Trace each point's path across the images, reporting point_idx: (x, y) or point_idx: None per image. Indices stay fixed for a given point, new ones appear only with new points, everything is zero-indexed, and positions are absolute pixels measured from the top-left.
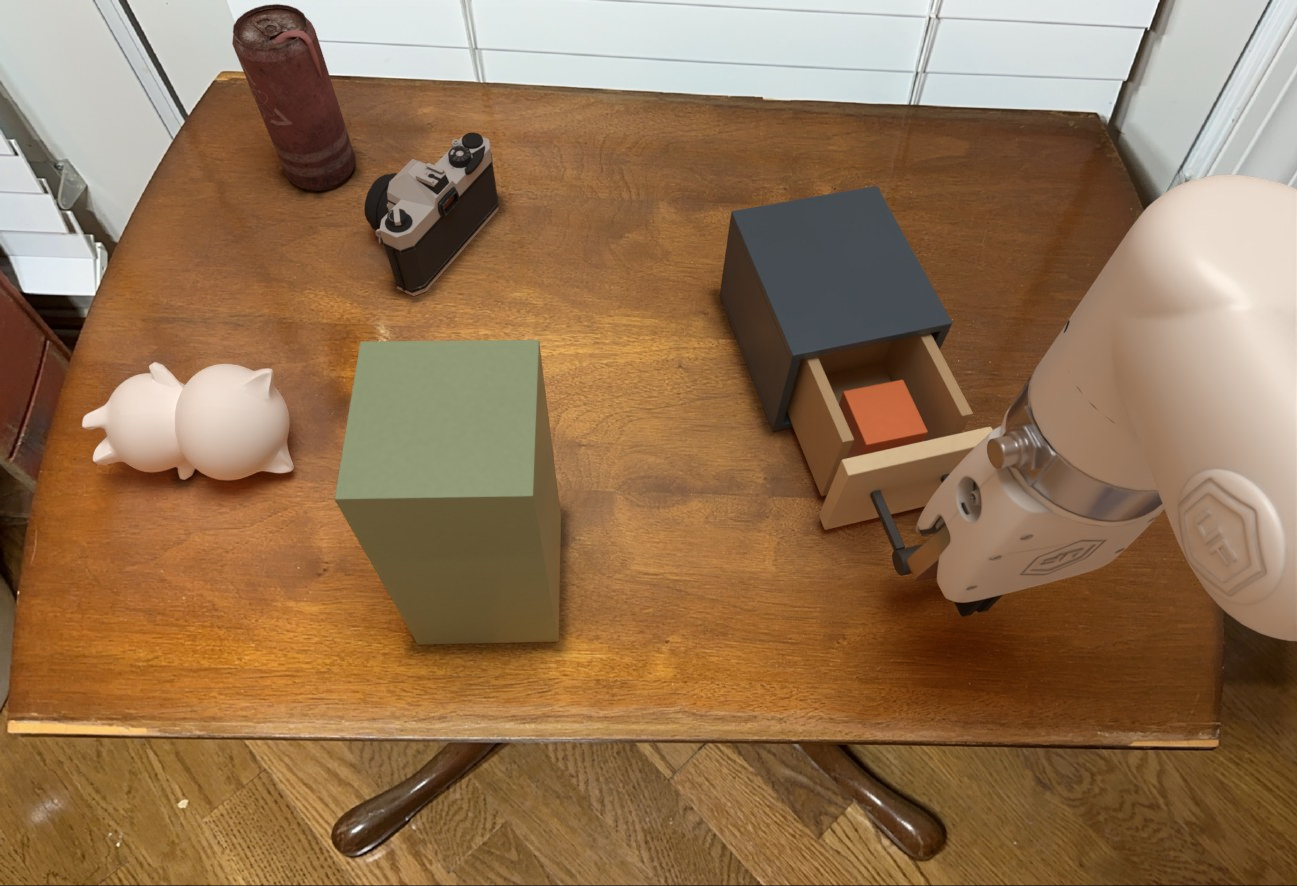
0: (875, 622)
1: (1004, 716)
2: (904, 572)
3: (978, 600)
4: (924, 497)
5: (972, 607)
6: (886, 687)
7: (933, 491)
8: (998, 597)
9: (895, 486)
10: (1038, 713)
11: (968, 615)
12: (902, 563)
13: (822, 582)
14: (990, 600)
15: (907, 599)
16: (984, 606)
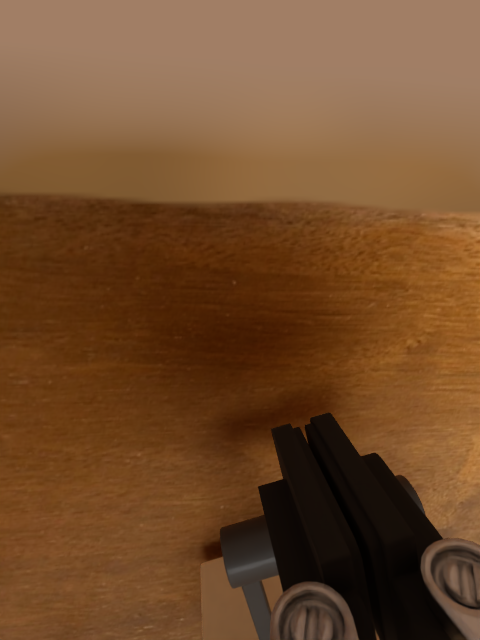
0: (358, 373)
1: (185, 225)
2: (413, 489)
3: (380, 488)
4: (276, 576)
5: (356, 451)
6: (367, 274)
7: (269, 595)
8: (304, 494)
9: (375, 631)
10: (122, 230)
11: (318, 416)
12: (423, 510)
13: (416, 424)
14: (315, 477)
15: (302, 408)
16: (300, 447)
